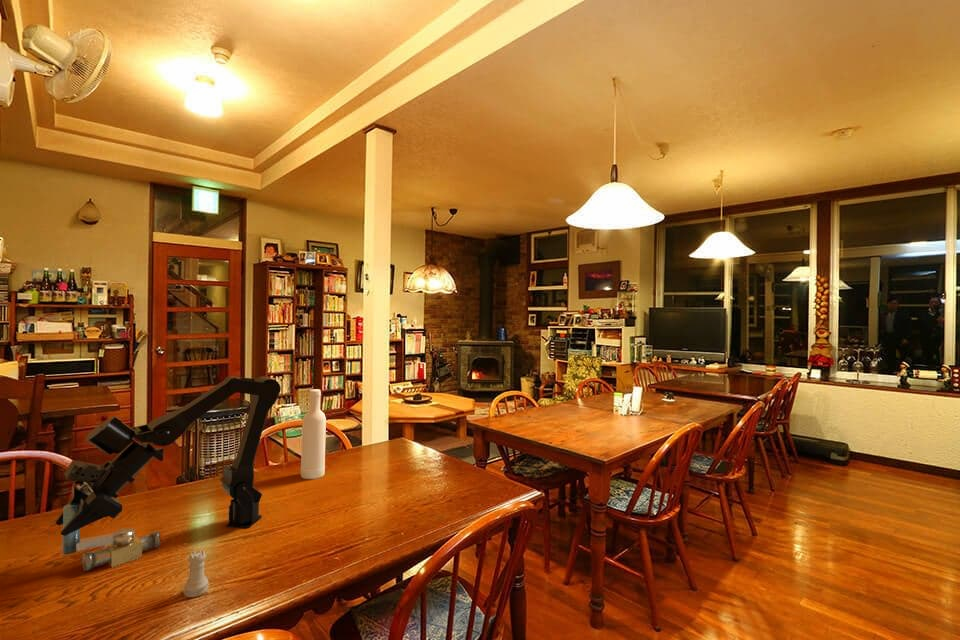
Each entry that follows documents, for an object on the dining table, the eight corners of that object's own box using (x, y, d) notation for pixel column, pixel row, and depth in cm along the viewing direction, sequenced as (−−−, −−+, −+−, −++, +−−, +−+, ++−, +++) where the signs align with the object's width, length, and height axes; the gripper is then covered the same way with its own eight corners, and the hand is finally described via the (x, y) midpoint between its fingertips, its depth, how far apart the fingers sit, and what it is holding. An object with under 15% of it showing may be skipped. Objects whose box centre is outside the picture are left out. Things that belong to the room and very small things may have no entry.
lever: (134, 534, 107) (135, 492, 107) (133, 542, 104) (134, 498, 104) (64, 548, 100) (65, 503, 100) (60, 556, 97) (61, 510, 97)
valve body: (153, 542, 112) (153, 526, 112) (161, 550, 108) (162, 534, 108) (81, 566, 101) (81, 548, 101) (88, 575, 97) (88, 557, 97)
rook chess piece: (190, 585, 95) (191, 547, 95) (213, 585, 96) (214, 547, 96) (178, 598, 91) (179, 559, 91) (202, 598, 91) (203, 558, 91)
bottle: (308, 470, 164) (310, 387, 164) (328, 472, 163) (331, 388, 162) (296, 478, 156) (298, 391, 156) (317, 480, 155) (320, 392, 154)
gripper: (85, 436, 106) (16, 496, 98) (104, 457, 94) (28, 527, 86) (126, 462, 113) (64, 520, 104) (149, 485, 101) (81, 553, 93)
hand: (59, 529), depth 97 cm, fingers open, 6 cm apart
